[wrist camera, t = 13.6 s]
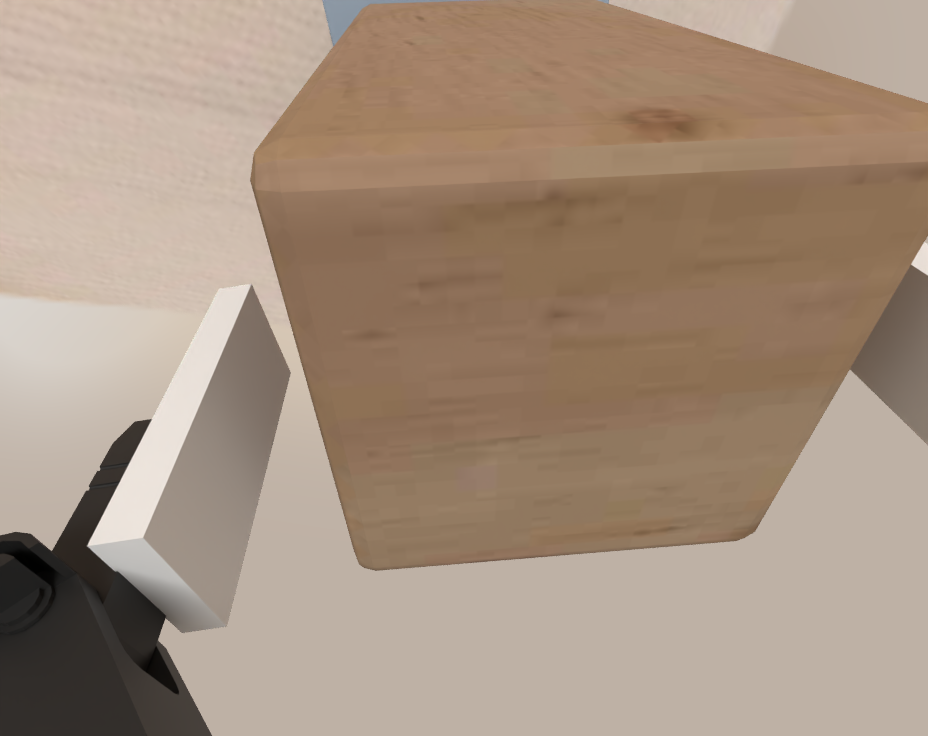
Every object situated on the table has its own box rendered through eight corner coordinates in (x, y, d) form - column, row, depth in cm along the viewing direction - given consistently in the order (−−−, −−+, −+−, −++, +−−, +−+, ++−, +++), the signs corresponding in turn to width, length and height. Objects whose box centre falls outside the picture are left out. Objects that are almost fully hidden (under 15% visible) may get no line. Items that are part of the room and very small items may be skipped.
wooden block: (359, 3, 22) (228, 153, 6) (595, -5, 22) (1018, 118, 7) (386, 229, 28) (355, 580, 13) (569, 219, 28) (756, 547, 13)
